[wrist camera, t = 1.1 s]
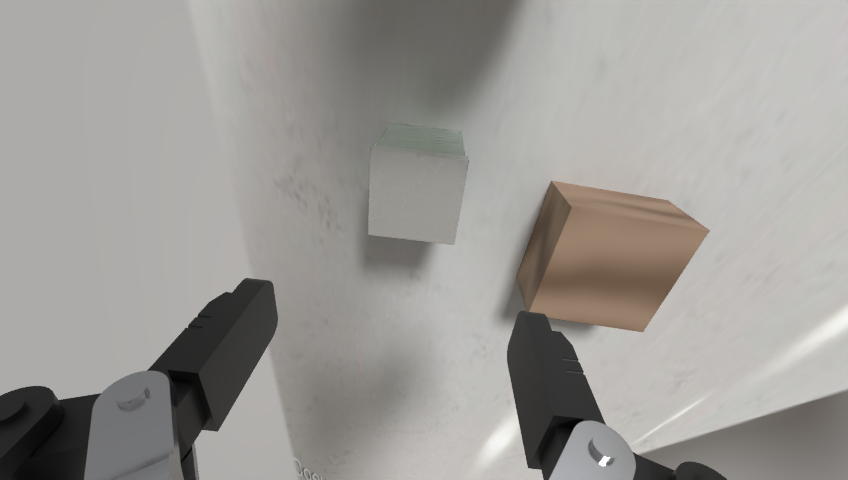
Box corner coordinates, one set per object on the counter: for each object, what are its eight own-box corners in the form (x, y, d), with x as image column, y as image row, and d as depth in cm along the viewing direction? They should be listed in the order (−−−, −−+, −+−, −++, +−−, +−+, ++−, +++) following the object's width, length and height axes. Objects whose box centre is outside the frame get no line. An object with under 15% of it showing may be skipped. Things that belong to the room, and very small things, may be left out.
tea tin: (389, 120, 24) (370, 148, 18) (462, 130, 24) (468, 160, 18) (385, 190, 27) (367, 234, 21) (452, 197, 27) (453, 244, 21)
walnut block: (550, 179, 26) (571, 207, 22) (665, 199, 26) (709, 230, 22) (516, 275, 30) (528, 314, 26) (614, 291, 31) (642, 332, 26)
